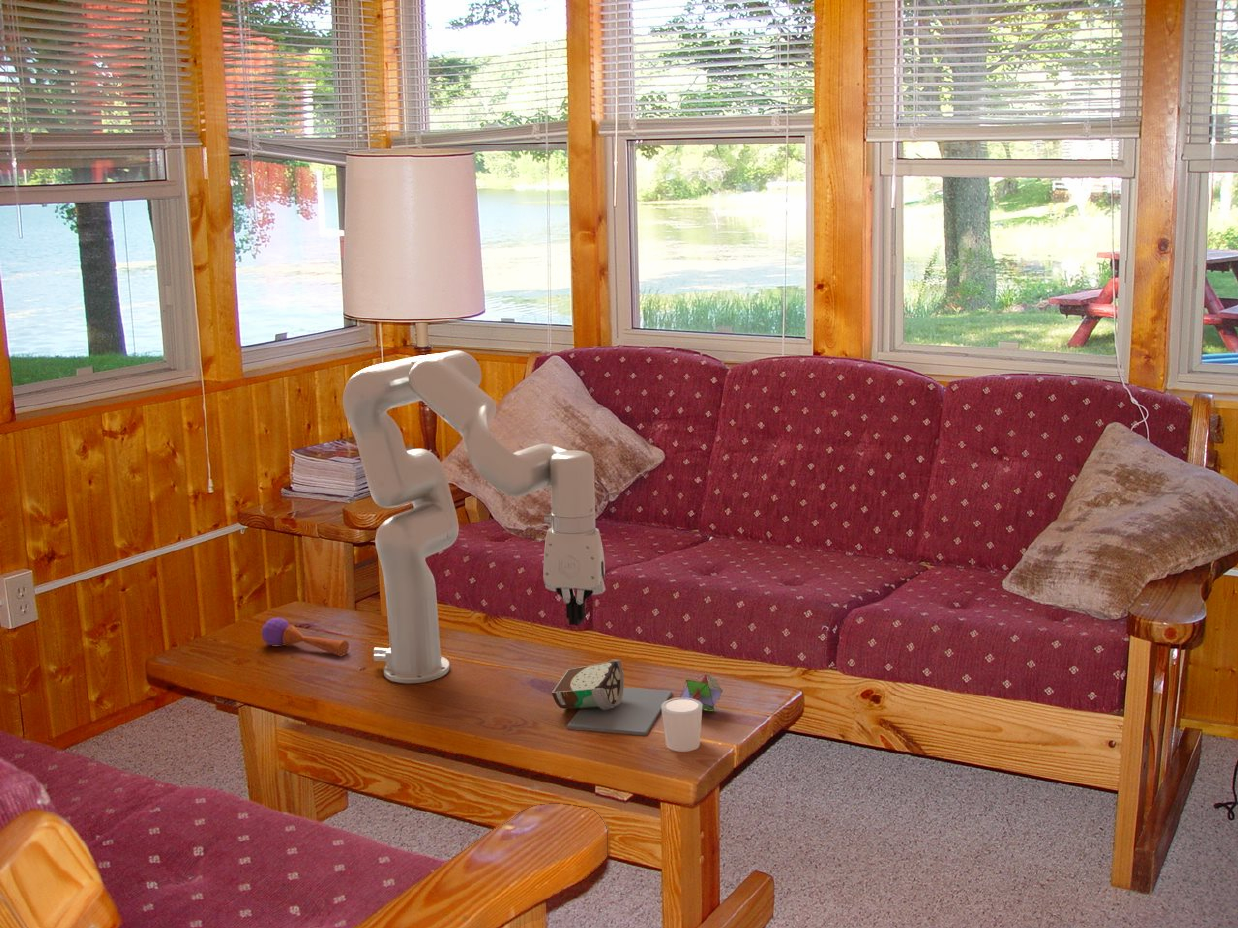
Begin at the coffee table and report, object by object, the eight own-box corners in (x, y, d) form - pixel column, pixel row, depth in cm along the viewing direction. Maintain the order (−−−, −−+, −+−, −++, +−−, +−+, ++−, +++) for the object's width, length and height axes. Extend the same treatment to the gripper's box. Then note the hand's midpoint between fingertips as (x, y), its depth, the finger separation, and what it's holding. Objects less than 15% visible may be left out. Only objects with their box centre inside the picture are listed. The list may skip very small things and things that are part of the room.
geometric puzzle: (705, 715, 226) (716, 670, 228) (669, 709, 229) (680, 664, 232) (720, 726, 232) (730, 682, 234) (684, 719, 235) (695, 676, 237)
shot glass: (668, 733, 224) (666, 695, 223) (708, 737, 222) (706, 698, 221) (657, 751, 218) (656, 711, 216) (698, 755, 216) (697, 715, 214)
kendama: (332, 643, 263) (253, 624, 271) (336, 668, 265) (258, 648, 274) (350, 628, 268) (272, 609, 276) (354, 653, 270) (277, 634, 278)
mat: (567, 728, 228) (566, 725, 228) (598, 688, 245) (598, 685, 245) (645, 735, 224) (645, 732, 224) (671, 693, 241) (671, 690, 241)
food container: (558, 728, 232) (611, 721, 229) (549, 696, 231) (602, 689, 227) (579, 695, 243) (630, 689, 240) (570, 665, 242) (621, 658, 239)
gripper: (525, 525, 227) (528, 626, 232) (608, 531, 223) (610, 634, 228) (540, 513, 234) (543, 612, 239) (621, 519, 230) (622, 619, 235)
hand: (576, 622), depth 233 cm, fingers closed
